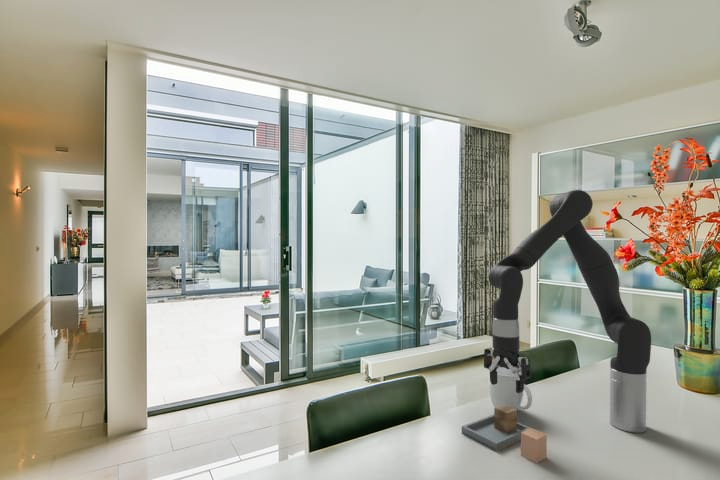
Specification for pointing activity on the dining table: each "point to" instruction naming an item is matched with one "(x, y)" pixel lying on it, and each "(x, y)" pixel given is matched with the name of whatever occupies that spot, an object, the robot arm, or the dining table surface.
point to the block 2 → (534, 445)
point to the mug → (507, 390)
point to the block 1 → (505, 419)
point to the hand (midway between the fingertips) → (506, 388)
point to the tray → (492, 433)
